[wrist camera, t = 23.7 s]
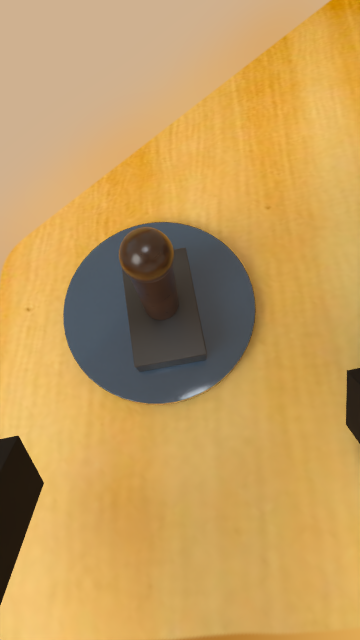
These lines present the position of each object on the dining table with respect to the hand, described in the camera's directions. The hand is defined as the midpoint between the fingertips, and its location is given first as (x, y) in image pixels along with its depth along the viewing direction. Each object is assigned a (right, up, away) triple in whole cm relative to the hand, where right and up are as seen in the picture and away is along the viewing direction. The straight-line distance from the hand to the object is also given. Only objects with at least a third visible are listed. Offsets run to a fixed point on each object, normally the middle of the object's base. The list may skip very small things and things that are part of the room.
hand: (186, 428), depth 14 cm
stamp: (-2, +5, +18) cm, 19 cm away
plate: (-2, +5, +19) cm, 20 cm away
